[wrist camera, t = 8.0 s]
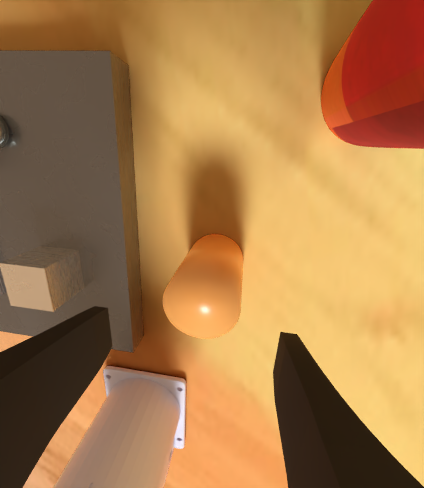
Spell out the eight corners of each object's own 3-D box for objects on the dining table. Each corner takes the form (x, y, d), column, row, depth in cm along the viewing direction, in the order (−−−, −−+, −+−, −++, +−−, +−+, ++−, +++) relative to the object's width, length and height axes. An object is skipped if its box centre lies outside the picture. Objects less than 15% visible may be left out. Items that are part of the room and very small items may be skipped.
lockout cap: (240, 286, 18) (236, 343, 12) (189, 280, 18) (163, 332, 13) (245, 236, 17) (244, 275, 11) (190, 231, 17) (161, 266, 11)
